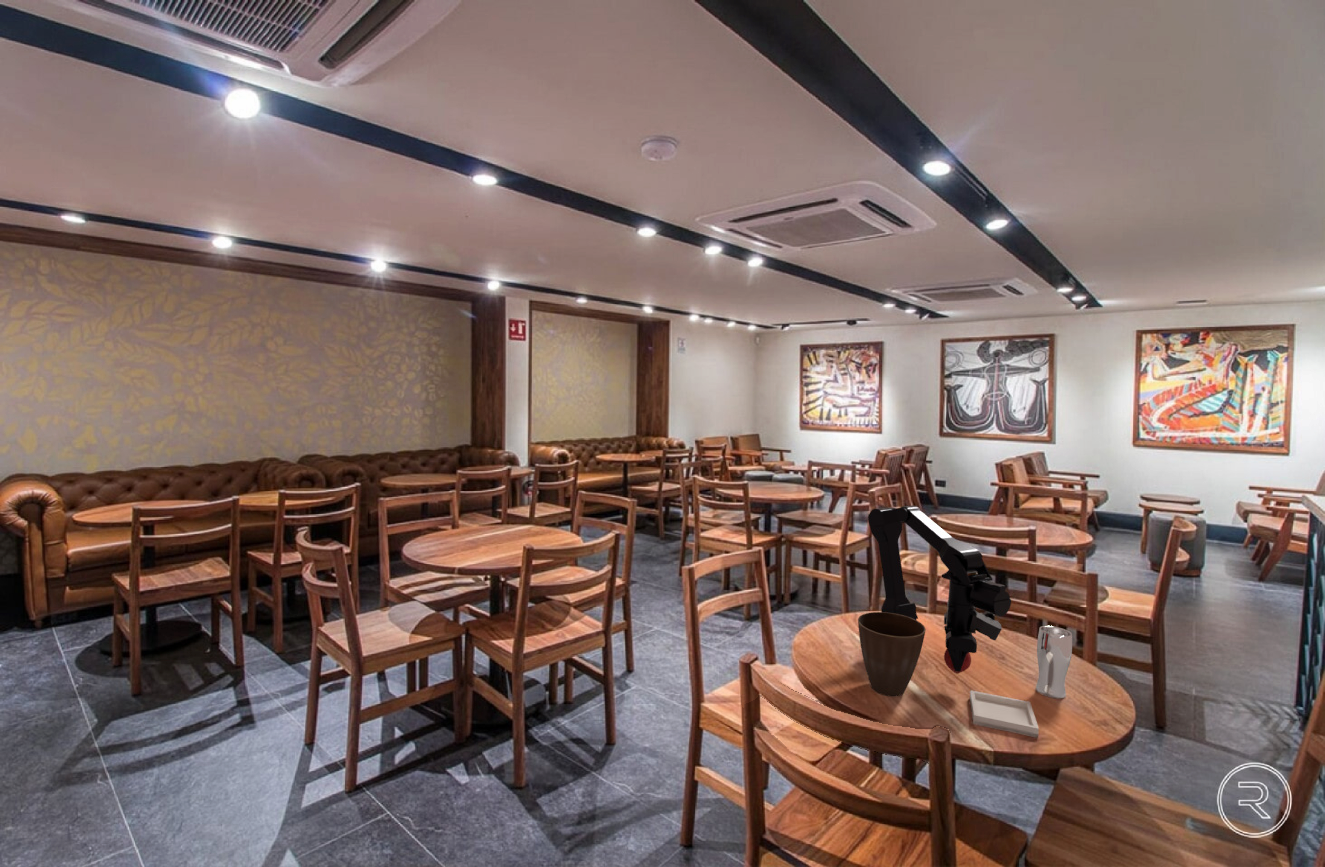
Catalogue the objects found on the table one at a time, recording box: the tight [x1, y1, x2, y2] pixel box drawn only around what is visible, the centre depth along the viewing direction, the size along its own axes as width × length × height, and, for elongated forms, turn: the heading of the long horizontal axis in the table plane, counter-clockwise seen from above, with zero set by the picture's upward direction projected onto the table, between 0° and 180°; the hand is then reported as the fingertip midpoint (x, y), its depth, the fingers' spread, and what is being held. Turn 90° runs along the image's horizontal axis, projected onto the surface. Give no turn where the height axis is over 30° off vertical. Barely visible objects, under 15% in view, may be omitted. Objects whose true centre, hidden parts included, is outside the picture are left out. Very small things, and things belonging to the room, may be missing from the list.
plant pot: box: [857, 611, 926, 697], centre depth 147 cm, size 15×15×16 cm
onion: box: [943, 648, 972, 675], centre depth 148 cm, size 6×6×8 cm
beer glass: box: [1035, 625, 1073, 700], centre depth 148 cm, size 7×7×15 cm
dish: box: [969, 689, 1040, 739], centre depth 137 cm, size 12×12×2 cm
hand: (956, 665), depth 148 cm, fingers closed on onion, 6 cm apart
